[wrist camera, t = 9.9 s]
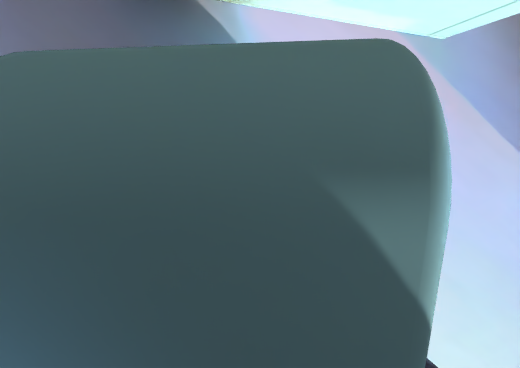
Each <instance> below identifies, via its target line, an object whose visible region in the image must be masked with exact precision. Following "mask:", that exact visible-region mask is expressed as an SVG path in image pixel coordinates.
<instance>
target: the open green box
mask: <svg viewBox="0 0 520 368" xmlns="http://www.w3.org/2000/svg"><path fill="white" fill-rule="evenodd" d="M218 1H224V2H230V3H235V4H241V5H247V6H253V7H259V8H265V9H271V10H276V11H282V12H288V13H294V14H300V15H306V16H312V17H317V18H323V19H329V20H335V21H341V22H347V23H352V24H358V25H364V26H370V27H376V28H382V29H388V30H393V31H399V32H405V33H411V34H417V35H423V36H429V37H434V38H440V39H445V38H447V37H449V36H452V35H455V34H458V33H461V32H464V31H467V30H470V29H473V28H476V27H479V26H482V25H485V24H488V23H491V22H494V21H497V20H500V19H503V18H506V17H509V16H512V15H515V14H518V13H520V0H218Z"/></svg>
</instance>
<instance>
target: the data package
mask: <svg viewBox="0 0 520 368" xmlns="http://www.w3.org/2000/svg"><path fill="white" fill-rule="evenodd" d="M451 186H452V175H451V155H450V147H449V140H448V133H447V127H446V123H445V119H444V114H443V110H442V106H441V103H440V100H439V98H438V95H437V92H436V89H435V87H434V85H433V83H432V81H431V79H430V77H429V74H428V72H427V71H426V69H425V68H424V66H423V65H422V64H421V62H420V61H419V59H418V58H417V57H416V56H415V55H414V54H413V53H412V52H411V51H410V50H409V49H407V48H406V47H405V46H403V45H401V44H399V43H397V42H395V41H393V40H389V39H349V40H321V41H293V42H265V43H237V44H209V45H181V46H154V47H126V48H98V49H70V50H42V51H24V52H13V53H10V54H7V55H3V56H0V368H425V364H426V358H427V352H428V346H429V340H430V334H431V328H432V322H433V316H434V310H435V304H436V298H437V292H438V286H439V279H440V273H441V267H442V261H443V255H444V249H445V243H446V237H447V231H448V224H449V216H450V207H451Z"/></svg>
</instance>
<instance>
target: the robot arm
mask: <svg viewBox="0 0 520 368" xmlns="http://www.w3.org/2000/svg"><path fill="white" fill-rule="evenodd" d="M425 368H438V367H437V366H436V365H434V364H433V363H432V362H431V361H430V360H428V359H427V358H426V364H425Z"/></svg>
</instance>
